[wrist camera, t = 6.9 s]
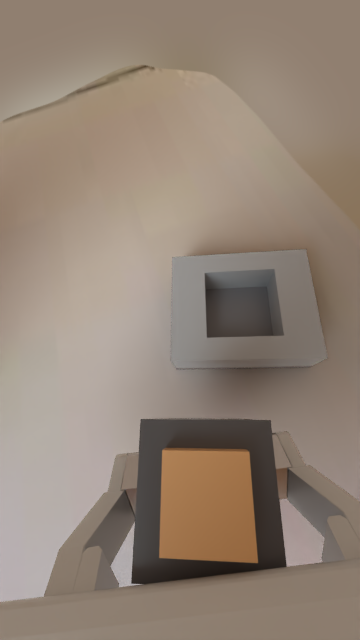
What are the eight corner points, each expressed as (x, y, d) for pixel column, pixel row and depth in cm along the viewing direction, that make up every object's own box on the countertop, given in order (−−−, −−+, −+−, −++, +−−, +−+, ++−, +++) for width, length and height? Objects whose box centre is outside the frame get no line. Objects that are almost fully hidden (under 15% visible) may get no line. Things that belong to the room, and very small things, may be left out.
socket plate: (176, 369, 22) (170, 360, 19) (177, 277, 25) (172, 257, 22) (309, 367, 21) (327, 357, 18) (293, 271, 24) (306, 249, 21)
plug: (171, 491, 15) (124, 598, 6) (172, 418, 17) (136, 419, 8) (240, 493, 15) (297, 609, 6) (235, 418, 16) (275, 420, 7)
